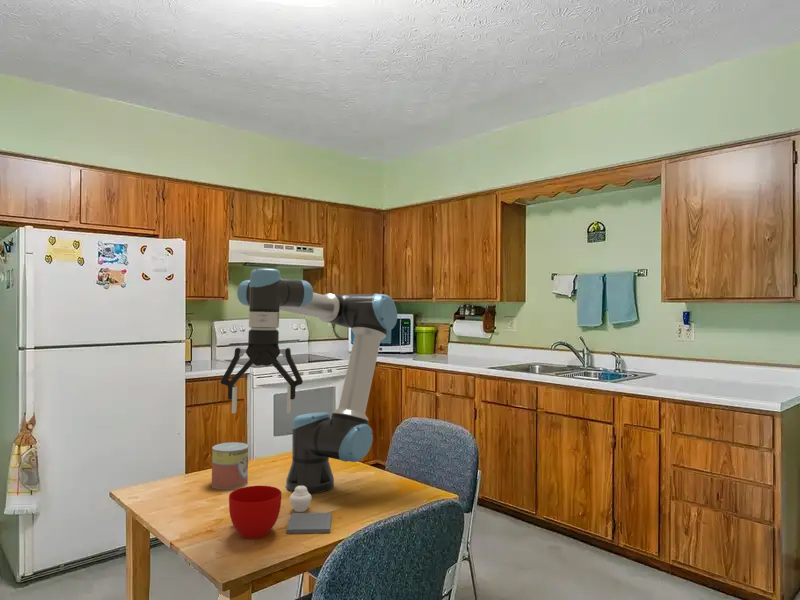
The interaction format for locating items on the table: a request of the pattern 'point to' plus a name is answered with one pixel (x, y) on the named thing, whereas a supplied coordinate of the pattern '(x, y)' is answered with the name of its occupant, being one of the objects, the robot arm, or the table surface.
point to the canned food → (229, 465)
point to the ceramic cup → (254, 510)
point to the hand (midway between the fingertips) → (261, 412)
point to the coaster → (309, 523)
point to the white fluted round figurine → (300, 499)
